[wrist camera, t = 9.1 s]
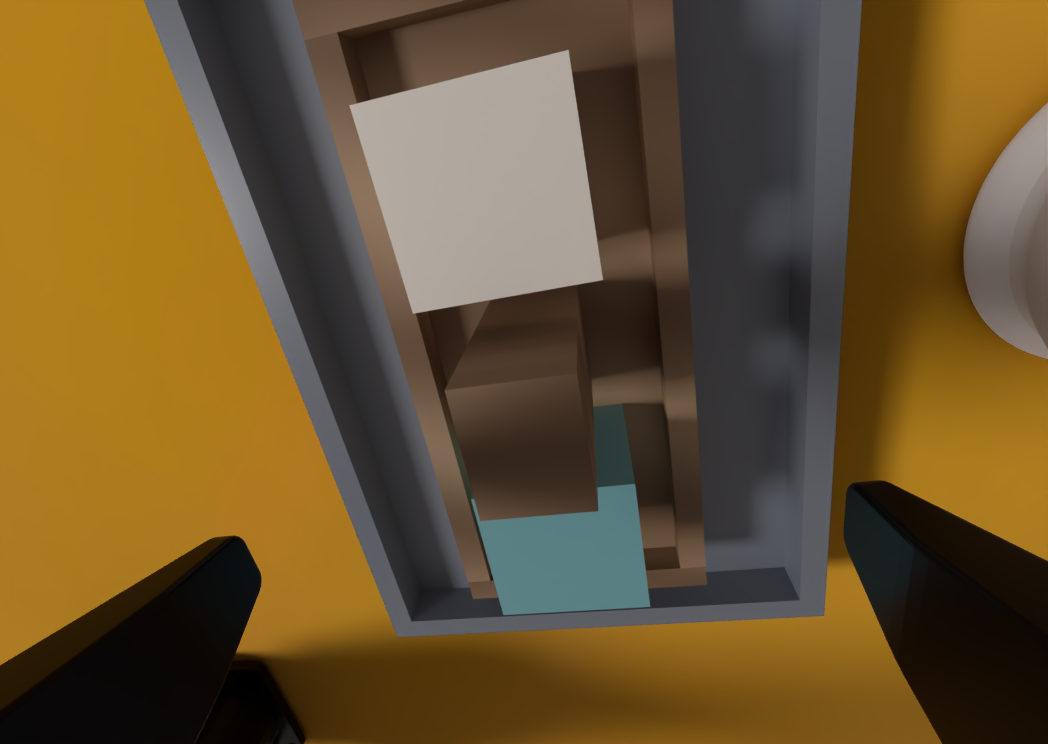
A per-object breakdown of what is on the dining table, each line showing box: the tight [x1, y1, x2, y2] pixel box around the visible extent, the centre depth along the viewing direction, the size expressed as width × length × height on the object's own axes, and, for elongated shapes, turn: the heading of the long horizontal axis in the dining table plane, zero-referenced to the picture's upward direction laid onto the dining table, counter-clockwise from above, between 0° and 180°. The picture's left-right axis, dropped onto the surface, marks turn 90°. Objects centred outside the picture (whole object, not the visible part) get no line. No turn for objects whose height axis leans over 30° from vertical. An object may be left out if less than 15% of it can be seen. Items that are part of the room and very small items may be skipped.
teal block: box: [471, 403, 650, 615], centre depth 15 cm, size 4×4×4 cm
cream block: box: [349, 50, 603, 314], centre depth 12 cm, size 4×4×4 cm
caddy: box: [292, 0, 707, 599], centre depth 13 cm, size 18×8×7 cm, turn 11°
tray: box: [144, 0, 862, 637], centre depth 16 cm, size 23×16×2 cm
